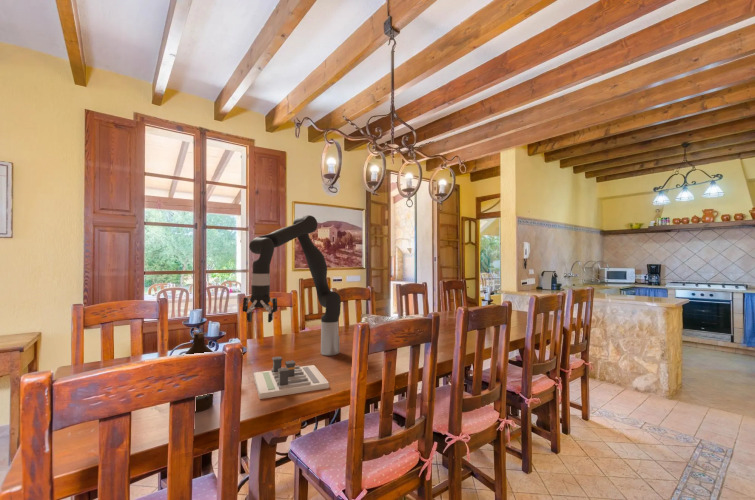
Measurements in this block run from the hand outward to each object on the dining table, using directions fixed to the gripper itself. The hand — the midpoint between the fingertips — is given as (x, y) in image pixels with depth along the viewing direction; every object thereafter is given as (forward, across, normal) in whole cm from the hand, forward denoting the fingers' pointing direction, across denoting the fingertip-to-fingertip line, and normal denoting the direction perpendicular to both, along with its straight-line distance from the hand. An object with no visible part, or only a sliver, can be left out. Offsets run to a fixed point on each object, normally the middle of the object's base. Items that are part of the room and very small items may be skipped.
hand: (259, 321), depth 145 cm
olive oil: (+24, +10, +29) cm, 39 cm away
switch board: (+24, -15, +5) cm, 28 cm away
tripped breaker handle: (+21, -15, +5) cm, 26 cm away
